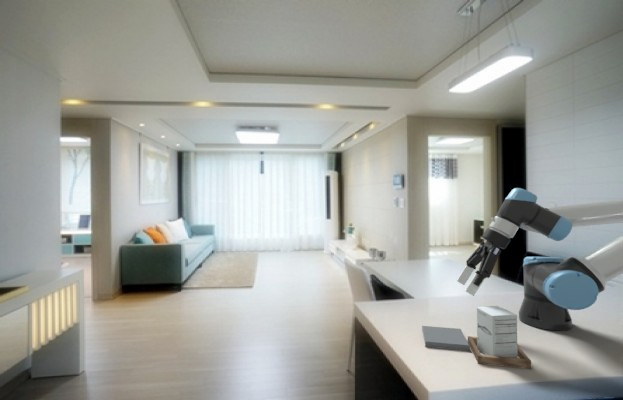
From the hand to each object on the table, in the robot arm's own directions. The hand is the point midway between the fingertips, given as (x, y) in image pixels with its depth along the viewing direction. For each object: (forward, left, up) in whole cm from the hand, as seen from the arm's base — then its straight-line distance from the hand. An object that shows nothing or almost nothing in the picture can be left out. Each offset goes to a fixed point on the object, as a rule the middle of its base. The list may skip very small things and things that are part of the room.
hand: (464, 287), depth 105 cm
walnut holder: (-5, +15, -14) cm, 22 cm away
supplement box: (-5, +15, -15) cm, 22 cm away
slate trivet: (+8, +8, -14) cm, 18 cm away
